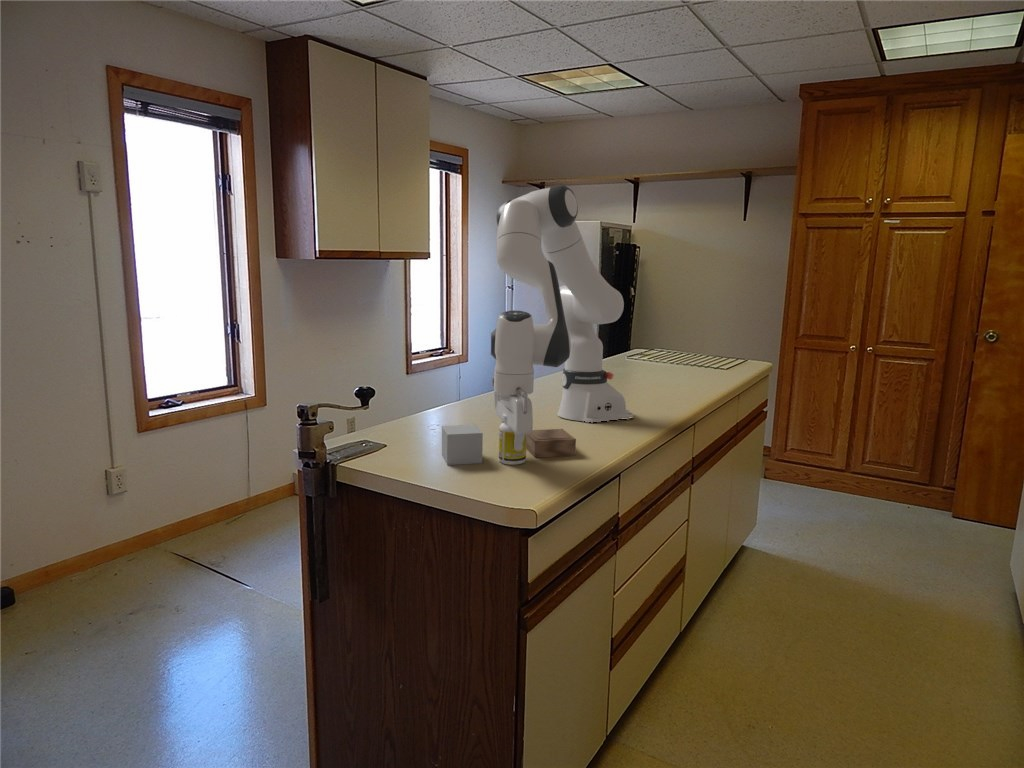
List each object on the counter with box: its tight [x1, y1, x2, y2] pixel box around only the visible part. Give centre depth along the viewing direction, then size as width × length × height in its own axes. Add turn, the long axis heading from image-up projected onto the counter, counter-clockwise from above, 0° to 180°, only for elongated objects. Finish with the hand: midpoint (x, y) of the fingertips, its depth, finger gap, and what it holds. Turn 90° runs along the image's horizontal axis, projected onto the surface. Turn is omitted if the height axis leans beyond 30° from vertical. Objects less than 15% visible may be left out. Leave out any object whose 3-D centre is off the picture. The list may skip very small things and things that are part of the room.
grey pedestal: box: [441, 424, 484, 466], centre depth 151 cm, size 8×8×7 cm
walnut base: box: [526, 428, 577, 458], centre depth 160 cm, size 10×10×4 cm
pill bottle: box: [498, 414, 527, 466], centre depth 150 cm, size 6×6×11 cm
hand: (512, 444), depth 150 cm, fingers open, 8 cm apart
